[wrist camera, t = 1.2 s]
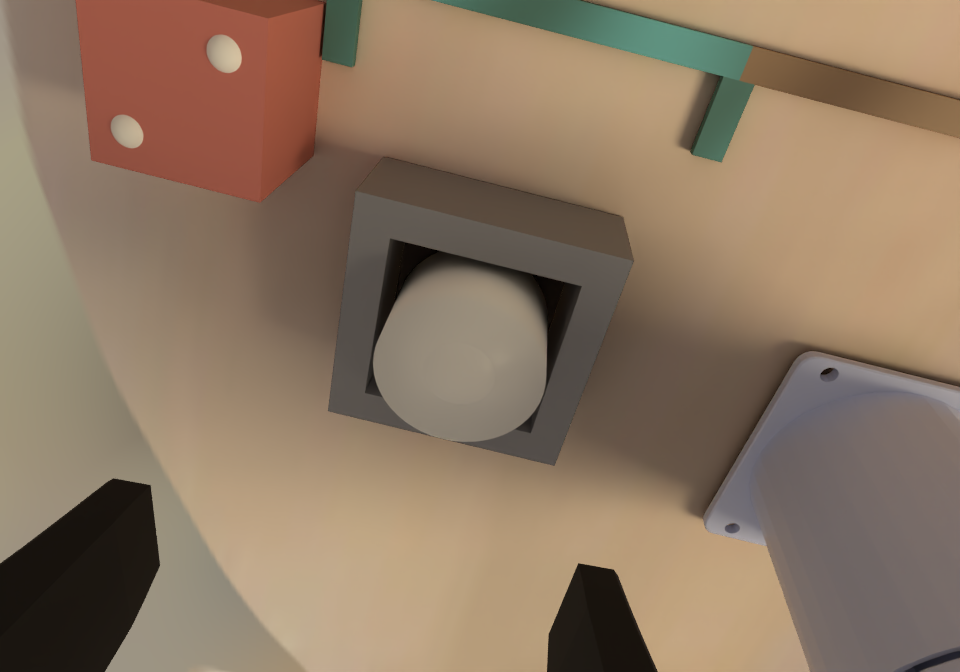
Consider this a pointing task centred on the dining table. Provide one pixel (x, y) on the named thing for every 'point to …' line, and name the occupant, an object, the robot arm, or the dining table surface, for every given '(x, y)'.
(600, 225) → the box
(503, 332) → the dome
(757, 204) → the dining table surface
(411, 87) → the dining table surface
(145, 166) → the die
